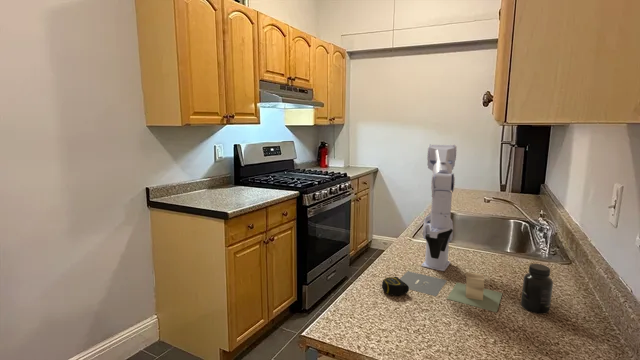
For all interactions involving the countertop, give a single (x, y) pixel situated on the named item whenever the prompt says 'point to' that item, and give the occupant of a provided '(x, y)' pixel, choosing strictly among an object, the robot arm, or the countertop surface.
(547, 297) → the supplement bottle
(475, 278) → the birch block
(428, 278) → the tile
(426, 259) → the robot arm
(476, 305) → the olive mat
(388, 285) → the tape measure
